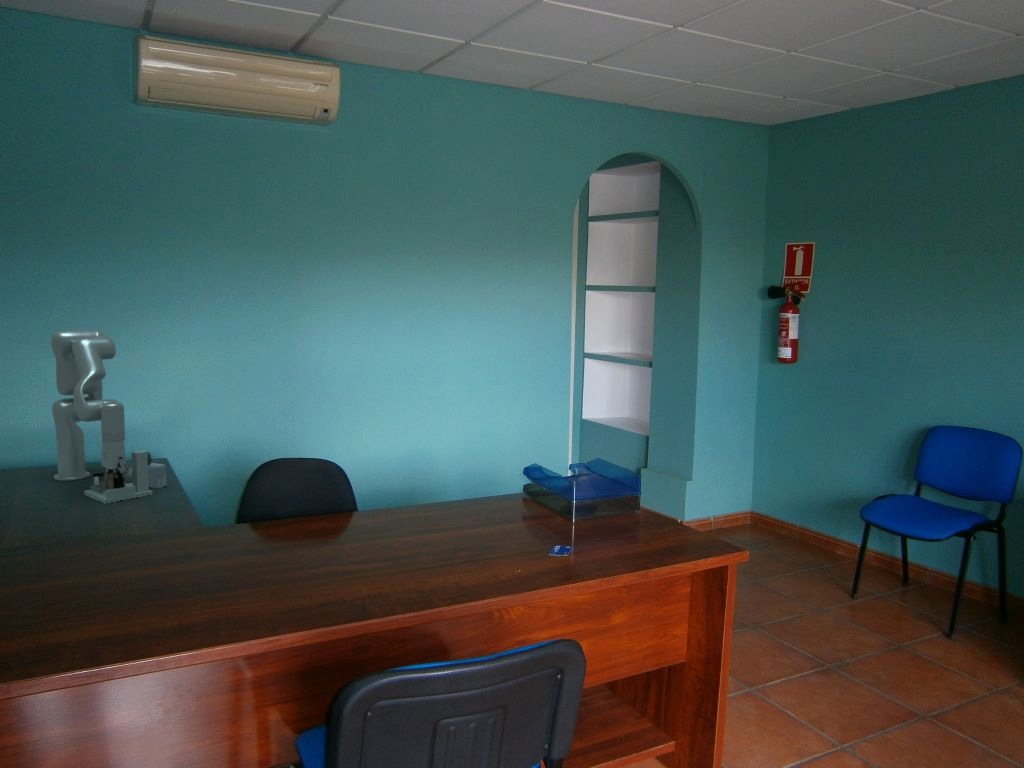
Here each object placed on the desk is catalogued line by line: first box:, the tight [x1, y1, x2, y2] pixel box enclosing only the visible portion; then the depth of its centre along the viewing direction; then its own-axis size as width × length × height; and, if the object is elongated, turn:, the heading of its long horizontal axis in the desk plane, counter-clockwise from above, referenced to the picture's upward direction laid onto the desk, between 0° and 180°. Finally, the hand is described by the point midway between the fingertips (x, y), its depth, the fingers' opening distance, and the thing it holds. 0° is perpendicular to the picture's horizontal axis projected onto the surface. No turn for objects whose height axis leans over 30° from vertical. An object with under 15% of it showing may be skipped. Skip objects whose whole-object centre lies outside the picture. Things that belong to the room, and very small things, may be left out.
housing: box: [105, 470, 126, 490], centre depth 285 cm, size 5×5×6 cm
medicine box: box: [148, 462, 167, 489], centre depth 303 cm, size 8×4×9 cm, turn 71°
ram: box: [90, 470, 106, 490], centre depth 292 cm, size 4×8×6 cm, turn 139°
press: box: [83, 449, 154, 505], centre depth 290 cm, size 18×18×16 cm
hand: (115, 485), depth 286 cm, fingers closed on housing, 5 cm apart
